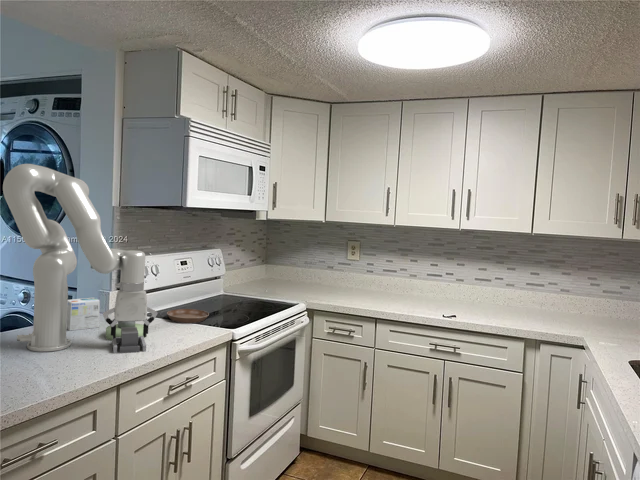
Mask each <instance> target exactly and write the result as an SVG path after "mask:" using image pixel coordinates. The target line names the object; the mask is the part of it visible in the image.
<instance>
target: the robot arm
mask: <svg viewBox="0 0 640 480" xmlns="http://www.w3.org/2000/svg"><path fill="white" fill-rule="evenodd" d="M2 191H3V192H2V193H3V198H4V199H5V202H6V203H7V205H8V208H9V210H10V212H11V214H12V216H13V218H14V219H13V220H14V222H15V223H16V226H17V228H18V230H19V232H20V235H21V238H22V239H23V241H24V243H25V244H26V245H27V246H28V247H29V248H31V249H34V250H40V252H41V254H40V255H39V256H38V257H37V258H36V259H35V261H34V263H33V267H32V275H33V282H34V284H33V285H34V299H33V301H34V303H33V304H34V305H33V306H34V307H33V328H32V330H33V331H32V332H31V333H28V334H17V336H16V342H20V343H26V342H27V344H26V348H27V349H28V350H30V351H31V352H32V351H33V352H39V353H40V352H42V353H43V352H45V353H47V352H57V351H60V350H65V349H68V348H69V347H71V346H72V340H71V339H69V338H67V331H68V329H67V306H68V300H69V285H68V278H67V277H68V275H70V274H72V273H73V272H74V271H75V269H76V268H77V264H78V259H77V256H76V254H75V253H76V252H75V251H74V248H73V247H72V245H71V241H70V240H69V238H68V236H67V233H66V231H65V229H64V228H63V226H62V225H61V224H60V223H59V222H57V221H56V220H53V219H49V218H48V217H47V215H46V213H45V211H44V209H43V205H42V204H41V202H40V201H39V199H38V198H37V196H36V194H35V192H41V193H44V194H46V195H50V196H52V197H56V200H57V202H58V203H59V205H60V206H61V208H62V210H63V211H64V213H65V215H66V216H67V218H68V220H69V223H71V225H72V227H73V228H74V232H75V236H76V239H77V240H78V241H77V242H78V244H79V246H80V249H81V251H82V253H83V254H84V255H85V258H86V260H87V261H88V262H89V264H90V266H91V268H92V269H93V270H94V271H96V273H98V274H99V273H100V274H103V275H104V274H105V275H106V274H110V273H112V272H115V271H118V270H120V280H119V281H120V282H119V283H118V282H117V283H115V286H114V287H115V289H119V290H117V292H116V297H115V301H114V302H115V303H114V307H112V308H110V309H108V310H106V311H104V312H103V313H102V317H103V318H104V320H105V322H106V323H107V324H108V326H111V335H113V339H114V338H116V324H118V321H119V322H129V321H135V322H143V324H142V325H143V336H144V337H145V338H146V337H147V336H146V334H147V335H148V334H149V326H150V325H151V323H152V322H153V321H155V319H156V317H157V315H158V311H157V310H155V309H153V308H151V307H148V297H147V296H148V295H147V291H146V290H145V273H146V272H145V271H146V254H145V252H144V251H141V250H133V249H132V250H130V249H129V250H124V249H118V248H111V247H109V244H108V243H107V241H106V240H105V237H104V236H103V233H102V228H101V226H102V224H101V215H100V214H99V212H98V211H97V209H96V208H95V206H94V204H93V203H92V200H91V199H90V198H89V196H90V188H89V185H88V184H87V183H86V182H85V181H84V180H83V179H80V178H78V177H75V176H71V175H68V174H66V173H63V172H60V171H57V170H55V169H53V168H50V167H47V166H44V165H43V166H42V165H38V164H34V163H22V164H18V165H16V166H14V167H13V168H12V169H10V170H9V171H8V172H7V174H6V175H5V177H4V179H3V184H2ZM148 313H150V314H151V316H150V317H149V318H147V317H148ZM111 314H114V318H113V319H111V318H110V317H109V315H111Z"/></svg>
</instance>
